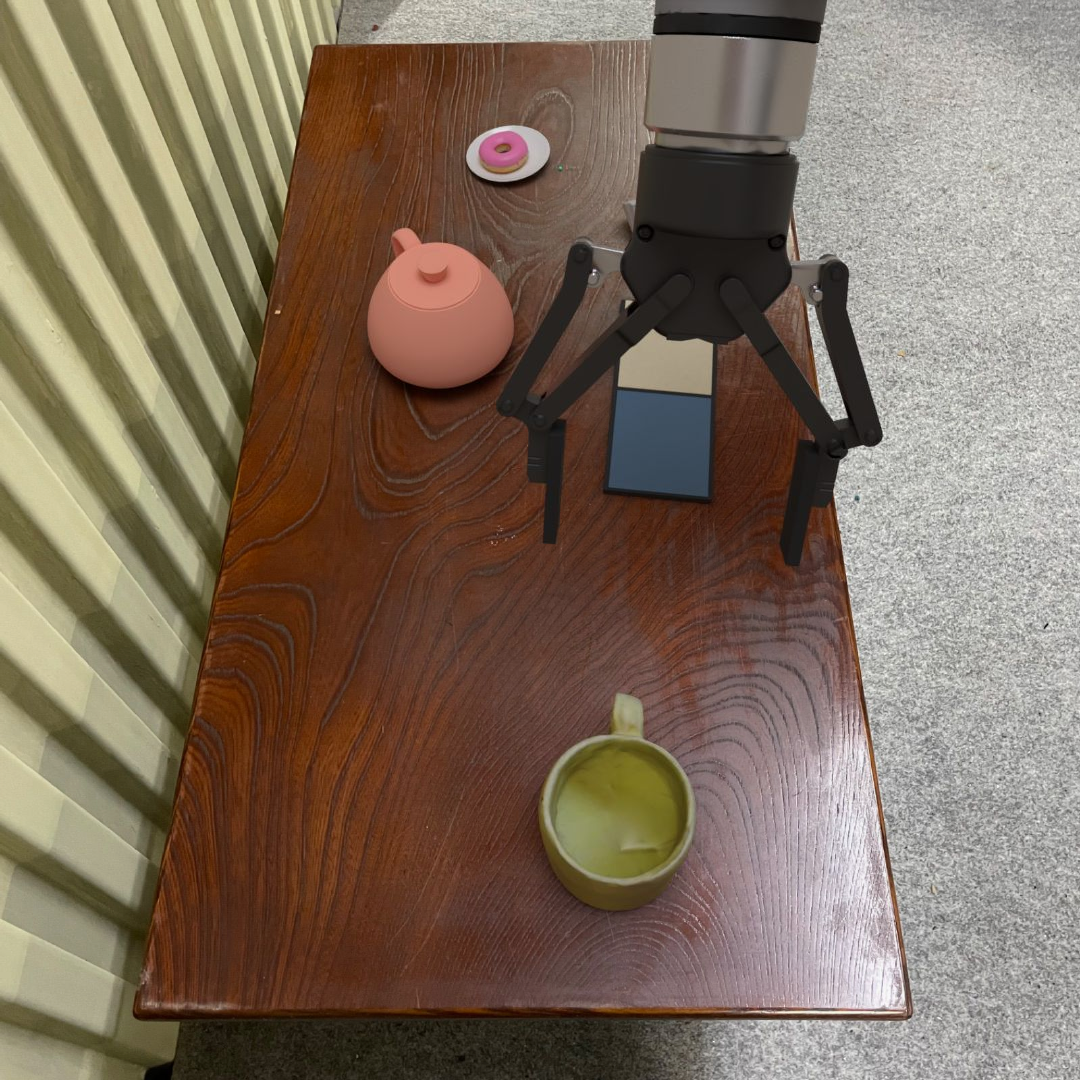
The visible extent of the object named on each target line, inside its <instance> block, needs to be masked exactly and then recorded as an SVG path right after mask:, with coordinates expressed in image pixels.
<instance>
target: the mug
mask: <svg viewBox="0 0 1080 1080" xmlns="http://www.w3.org/2000/svg"><path fill="white" fill-rule="evenodd" d="M644 716H645V706H644V704H643V702H642V700H640V699H639V698H638V697H635V696H634V695H630V694H626V693H619V692H617V693H616V694H615V696H614V701H613V705H612V709H611V715H610V720H609V722H610V723H609V728H608V733H609V734H599V735H595V736H591V737H588V738H587V737H586V738H585V739H583V740H581V741H579V742H577V743H575V744H574V745H572V746H571V747H569V748H568V749H567V750H566V751H564V752H563V753H562V754H561V755H560V756H559V757H558V758H557V760H556V761H555V762H554V763H553V764H552V765H551V767H550V770H549V771H548V773H547V775H546V776H545V778H544V781H543V784H542V787H541V791H540V794H539V799H538V809H537V810H538V811H537V814H538V825H539V830H540V834H541V839H542V843H543V847H544V849H545V853H546V855H547V859H548V861H549V863H550V866H551V868H552V870H553V872H554V874H555V876H556V878H557V879H558V880H559V882H560V883H561V884H562V885H563V887H564V888H565V889H566V890H567V891H568V892H569V893H570V894H571V895H573V896H574V897H575V898H577V899H578V900H579V901H581V902H582V903H584V904H587V905H588V906H591V907H592V908H593V907H594V908H597V909H599V910H604V911H613V912H615V911H619V912H621V911H629V910H635V909H638V908H641V907H643V906H645V905H647V904H649V903H651V902H652V901H654V900H655V899H657V898H658V897H659V896H661V894H662V893H663V892H664V891H665V890H666V889H667V887H668V886H669V885H670V882H672V880H673V879H674V877H675V875H676V873H677V871H678V870H679V869H680V868H681V866H682V865H683V863H684V861H685V859H686V857H687V856H688V853H689V851H690V850H691V847H692V844H693V841H694V837H695V833H696V828H697V820H698V819H697V803H696V796H695V792H694V788H693V785H692V783H691V781H690V779H689V777H688V775H687V773H686V772H685V770H684V769H683V767H682V766H681V764H680V763H679V762H678V761H677V758H675V756H673V755H672V754H671V753H670V752H669V751H667V750H666V749H664V748H663V747H662V746H659V745H657V744H656V743H653V742H651V741H649V740H646V739H645V738H644V736H645V726H644V718H645V717H644Z"/></svg>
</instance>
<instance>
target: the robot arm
mask: <svg viewBox="0 0 1080 1080" xmlns="http://www.w3.org/2000/svg"><path fill="white" fill-rule="evenodd" d="M827 3H828V0H655V3H654V13H653V16H654V17H655V18H653V24H652V34H653V35H651V38H650V46H649V47H650V48H649V57H648V58H649V59H648V69H647V79H646V91H645V99H644V100H645V101H644V110H643V111H644V112H643V121H642V122H643V123H642V125H643V126H644V127H645V128H646V130H647V131H648V132H651V133H652V132H654V141H653V143H647V144H646V145H645V147H644V150H641V151H640V154H639V155H640V156H639V163H638V174H637V183H636V184H637V186H636V197H635V199H636V205H635V216H634V226H633V233H632V234H631V236H630V239H629V241H628V243H627V245H626V246H625V248H621V247H615V246H610V245H604V244H599V243H594V240H592V239H591V238H590V237H588V236H585V235H582V236H578V237H576V238H575V239H574V240H573V241H572V244H571V245H570V248H569V251H568V254H567V259H566V264H565V270H564V276H563V282H562V284H561V286H560V287H559V289H558V291H557V293H556V295H555V296H554V298H553V300H552V301H551V303H550V305H549V307H548V308H547V310H546V312H545V314H544V315H543V317H542V319H541V321H540V322H539V324H538V326H537V327H536V329H535V332H533V334H532V336H531V338H530V340H529V341H528V343H527V345H526V347H524V350H523V352H522V354H521V356H520V357H519V359H518V361H517V362H516V364H515V365H514V368H513V369H512V371H511V373H510V375H509V376H508V378H507V380H506V382H505V383H504V385H503V387H502V389H501V391H500V393H499V395H498V397H497V400H496V403H495V410H496V411H497V413H498V414H499V415H500V416H502V417H505V418H514V419H516V420H519V421H520V422H522V423H523V424H524V425H525V426H526V428H527V431H528V440H527V441H528V442H527V460H526V461H527V462H526V476H527V479H528V481H529V483H532V484H542V485H545V497H544V511H543V512H544V513H543V529H542V544H544V545H545V544H548V545H556V544H557V540H558V539H557V538H558V534H559V529H560V522H561V521H560V519H561V505H562V494H563V493H562V492H563V480H564V479H563V476H564V467H565V466H564V465H565V464H564V462H565V452H566V451H565V449H566V436H567V420H568V419H566V418H561V416H563V414H564V413H566V412H567V411H568V410H569V409H570V408H571V407H572V406H573V405H574V404H575V403H576V402H577V401H578V400H579V399H580V398H581V397H582V396H583V395H584V394H585V393H586V392H587V391H588V390H589V389H591V387H592V386H593V385H595V383H597V381H598V380H600V378H602V376H604V375H605V373H607V372H608V371H609V370H610V369H611V368H612V367H613V366H615V363H616V362H617V361H618V360H619V359H620V358H621V357H622V356H623V355H624V354H625V353H626V352H627V351H628V350H629V349H630V348H631V347H633V346H635V345H636V344H638V343H639V342H640V341H641V340H642V339H643V338H644V337H645V336H646V335H647V334H648V333H649V332H650V331H651V330H652V329H654V330H655V331H656V332H657V333H658V334H660V335H662V336H664V337H666V340H670V341H686V340H692V339H700V340H703V341H706V342H709V343H712V344H717V345H724V346H728V344H729V343H731V342H733V341H736V340H738V339H740V338H741V337H742V336H744V335H745V336H746V337H747V339H748V340H749V342H750V344H751V346H752V347H753V348H754V350H755V351H756V352H757V354H758V355H759V357H760V358H761V360H762V361H763V362H764V364H765V366H766V367H767V369H768V370H769V371H770V373H771V375H773V378H774V379H775V381H776V382H777V383H778V385H779V387H780V388H781V390H782V391H783V393H784V394H785V396H786V397H787V398H788V400H789V402H790V403H791V405H792V406H793V408H794V409H795V411H796V412H797V414H798V415H799V416H800V419H801V421H803V423H804V424H805V426H806V427H807V429H808V431H809V432H810V433H811V435H812V437H813V438H814V440H813V439H806V438H798V442H797V447H796V452H795V456H794V457H795V458H794V463H793V468H792V473H791V479H790V485H789V490H788V495H787V500H786V501H787V502H786V504H785V505H786V506H785V511H784V515H783V516H784V517H783V521H782V525H781V526H782V527H781V531H780V532H781V533H780V538H779V543H778V545H779V549H780V551H781V555H782V559H783V562H784V564H785V566H786V567H797V568H800V565H801V561H802V556H803V551H804V544H805V540H806V535H807V531H808V525H809V520H810V516H811V515H810V514H811V510H812V508H819V509H827V507H828V506H829V504H831V502H832V501H833V500H832V499H833V495H834V490H835V485H836V482H837V476H838V472H839V467H840V461H842V460H843V459H845V458H846V457H847V455H848V453H849V450H851V449H853V448H854V449H855V448H858V447H862V446H864V447H866V448H873V447H876V446H878V445H879V444H880V443H881V442H882V440H883V439H884V432H883V428H882V424H881V421H880V419H879V418H880V417H879V415H878V411H877V408H876V403H875V401H874V397H873V394H872V391H871V388H870V387H871V386H870V383H869V380H868V376H867V373H866V370H865V367H864V363H863V361H862V357H861V353H860V350H859V345H858V343H857V340H856V336H855V333H854V329H853V325H852V322H851V320H850V316H849V313H848V307H847V306H848V294H849V284H850V283H849V282H850V269H849V267H848V265H847V264H846V263H845V262H843V261H842V260H841V259H840V258H839V257H838V256H836V255H835V254H833V253H825V254H823V255H821V256H820V257H818V259H804V260H801V259H800V260H790V258H789V254H788V237H789V231H790V224H791V220H792V213H793V207H794V200H795V194H796V189H797V182H798V176H799V171H800V170H799V169H800V164H801V163H800V162H799V161H797V155H796V154H793V153H791V147H790V146H791V142H799V141H800V140H801V139H802V138H803V137H805V135H806V131H807V130H806V129H807V123H808V116H809V110H810V104H811V103H810V102H811V97H812V89H813V83H814V78H815V70H816V64H817V57H818V51H819V45H818V44H820V40H821V35H822V34H821V33H822V26H823V25H824V21H825V15H826V9H827ZM615 272H617V273H620V275H621V278H622V279H623V281H624V283H625V285H626V286H627V288H628V290H629V291H630V293H631V295H632V296H633V298H634V299H633V300H634V301H633V302H632V303H631V304H630V305H629V306H628V307H626V308H625V309H624V310H623V312H622V313H621V314H620V313H619V315H618V316H617V318H615V320H614V321H613V322H612V323H611V324H610V325H609V326H608V327H607V328H606V329H605V330H604V331H602V333H601V334H600V335H599V336H598V337H597V338H596V339H595V340H594V341H593V342H592V343H591V344H590V345H589V346H588V347H587V348H586V349H585V350H584V351H583V352H582V353H581V354H580V355H579V356H578V357H577V358H576V359H575V360H574V361H573V362H572V363H571V364H570V365H569V366H568V367H567V368H566V369H564V371H563V372H562V373H561V374H560V375H558V377H557V378H555V380H554V381H553V382H552V383H551V384H550V385H549V386H548V387H547V388H546V389H545V390H544V391H543V392H542V393H541V394H540V395H537V394H535V393H532V392H530V391H531V389H532V387H533V386H534V384H535V382H536V380H537V379H538V377H539V375H540V373H541V371H542V370H543V369H544V367H545V365H546V364H547V362H548V360H549V358H550V357H551V355H552V354H553V352H554V350H555V349H556V347H557V345H558V343H559V341H560V339H562V336H563V335H564V333H565V332H566V330H567V328H568V326H569V324H570V323H571V321H572V320H573V318H574V316H575V314H576V312H577V311H578V309H579V307H580V306H581V303H582V301H583V299H584V296H585V294H586V291H587V289H591V290H592V289H593V290H594V289H598V288H600V287H601V286H602V285H603V284H604V282H605V280H606V278H608V276H609V275H610V274H612V273H615ZM791 285H794V286H797V287H798V288H799V292H800V295H801V298H802V299H803V300H804V301H805V303H807V304H809V305H811V306H814V311H815V315H816V319H817V322H818V325H819V328H820V331H821V335H822V338H823V341H824V344H825V347H826V351H827V355H828V357H829V361H830V364H831V367H832V370H833V374H834V378H835V379H836V383H837V386H838V390H839V393H840V396H841V399H842V403H843V406H844V409H845V412H846V416H847V417H843V418H840V419H836V420H834V419H833V418H832V416H831V415H830V412H828V410H827V408H826V407H825V405H824V404H823V402H822V401H821V399H820V398H819V396H818V395H817V393H816V391H815V390H814V389H813V387H812V386H811V384H810V382H809V381H808V379H807V378H806V376H805V375H804V373H803V372H802V370H801V369H800V367H799V366H798V364H797V362H796V361H795V359H794V358H793V355H791V354H790V352H789V350H788V348H787V347H786V346H785V344H784V342H783V341H782V340H781V338H780V336H779V335H778V333H777V332H776V330H775V328H774V326H773V325H772V324H771V322H770V320H769V319H768V318H767V316H766V314H765V313H766V312H767V311H768V310H769V309H770V308H771V307H772V306H773V305H774V304H775V302H776V301H778V299H779V298H780V297H781V296H782V295H783V294H784V293H785V292H786V291H787V289H788V288H789V287H790V286H791Z"/></svg>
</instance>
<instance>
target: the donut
mask: <svg viewBox="0 0 1080 1080" xmlns="http://www.w3.org/2000/svg"><path fill="white" fill-rule="evenodd" d="M550 153H551V146H550V143H549V141H548V139H547V137H545V135H544V134H542V133H541V132H540V131H538V130H536V129H534V128H532V127H528V126H524V125H503V126H498V127H495V128H491V129H489V130H487V131H484V132H483V133H481V134H480V135H478V136H477V137H476V138H475V139H473V141H472V142H471V143H470V145H469V147H468V149H467V150H466V156H465V157H466V163H467V166H468V168H469V169H470V170H471V172H472V173H473V174H475V175H476V176H478V177H480V178H483V180H484V179H485V180H487V181H490V182H491V181H492V182H498V183H502V182H503V183H509V182H514V181H515V182H516V181H519V180H523V179H525V178H527V177H530V176H532V175H534V174H535V173H537V172H538V171H539V170H541V169H542V168H543V167H544V166H545V164H546V163H547V161H548V160H549V157H550V155H551V154H550ZM565 168H566V170H568V165H566V166H565ZM571 168H572V170H574V169H576V166H574V165H572V166H569V170H571ZM577 169H579V166H577ZM558 170H559V171H562V170H563V167H562V166H559V167H558Z"/></svg>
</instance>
